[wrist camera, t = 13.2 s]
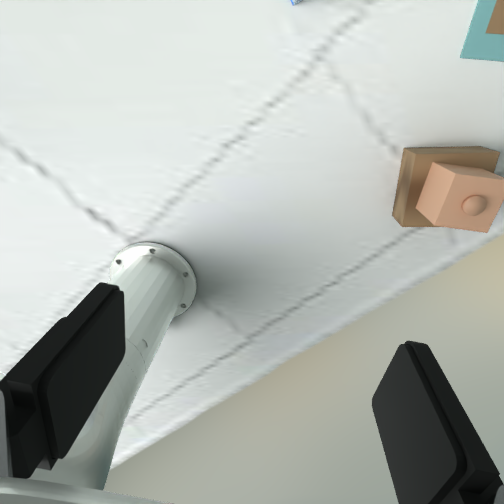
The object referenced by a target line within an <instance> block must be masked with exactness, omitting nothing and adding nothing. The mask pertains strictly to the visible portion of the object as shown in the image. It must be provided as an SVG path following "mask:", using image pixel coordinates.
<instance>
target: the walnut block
mask: <svg viewBox="0 0 504 504" xmlns="http://www.w3.org/2000/svg"><path fill="white" fill-rule="evenodd" d="M499 154H500V152H497V151H494V150H490V149H487V148H484V147H481V146H469V147H423V148H404V150H403V156H402V161H401V167H400V173H399V179H398V184H397V190H396V196H395V202H394V207H393V213H392V216H393V217H394V218H395V219H396V220H397V222H398V223H399V224H400V225H401V226H402V227H441V226H434V225H433V224H432V223H431V222H430V221H429V220H428V219H427V218H426V217H425V216H424V215H423V214H421V213H420V212H419V211H418V210H417V209H416V205H417V203H418V200H419V197H420V195H421V192H422V189H423V187H424V184H425V181H426V178H427V176H428V173H429V170H430V168H431V165H432V162H437V163H444V164H452V165H459V166H467V167H475V168H482V169H484V170H487V171H489V172H492V173H494V170H495V167H496V164H497V160H498V157H499Z"/></svg>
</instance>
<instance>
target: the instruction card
mask: <svg viewBox="0 0 504 504" xmlns="http://www.w3.org/2000/svg"><path fill="white" fill-rule="evenodd" d="M460 58H468V59H480V60H492V61H504V0H478V3H477V6H476V9H475V12H474V15H473V19H472V22H471V25H470V28H469V31H468V34H467V37H466V40H465V43H464V46H463V49H462V52H461V55H460Z"/></svg>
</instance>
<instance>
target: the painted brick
mask: <svg viewBox="0 0 504 504" xmlns="http://www.w3.org/2000/svg"><path fill="white" fill-rule="evenodd" d="M503 200H504V177H501V176H499V175H496V174H494V173H492V172H489V171H487V170H484V169H482V168H475V167H467V166H459V165H452V164H444V163H437V162H432V165H431V168H430V170H429V173H428V176H427V178H426V181H425V184H424V187H423V189H422V192H421V195H420V197H419V200H418V203H417V205H416V209H417V210H418V211H419V212H420V213H421V214H423V215H424V216H425V217H426V218H427V219H428V220H429V221H430V222H431V223H432V224H433V225H434V226H441V227H449V228H456V229H463V230H470V231H478V232H485V233H487V232H488V230H489V228H490V226H491V224H492V222H493V220H494V218H495V216H496V214H497V212H498V210H499V208H500V206H501V204H502V202H503Z"/></svg>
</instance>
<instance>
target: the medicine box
mask: <svg viewBox="0 0 504 504" xmlns="http://www.w3.org/2000/svg"><path fill="white" fill-rule="evenodd" d="M300 1H301V0H291V2H292V4H293V6H294V5H296V4H297V3H299V2H300Z"/></svg>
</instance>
